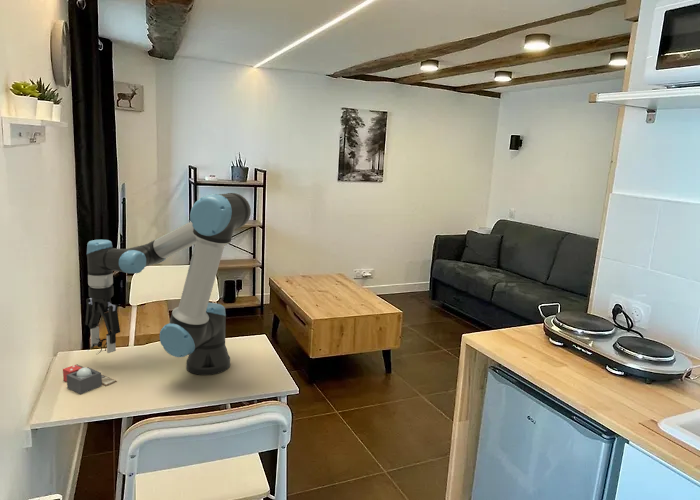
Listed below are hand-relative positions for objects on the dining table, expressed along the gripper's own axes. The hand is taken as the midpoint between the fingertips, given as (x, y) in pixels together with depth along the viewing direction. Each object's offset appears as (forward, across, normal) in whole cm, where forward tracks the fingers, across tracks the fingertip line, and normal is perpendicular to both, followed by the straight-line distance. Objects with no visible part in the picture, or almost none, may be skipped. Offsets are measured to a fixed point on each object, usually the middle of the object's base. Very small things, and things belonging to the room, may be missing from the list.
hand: (103, 348), depth 168 cm
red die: (+6, -2, +12) cm, 14 cm away
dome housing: (+6, -9, +13) cm, 17 cm away
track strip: (+6, -3, +7) cm, 10 cm away
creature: (0, 0, +1) cm, 1 cm away
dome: (+5, -9, +13) cm, 16 cm away
